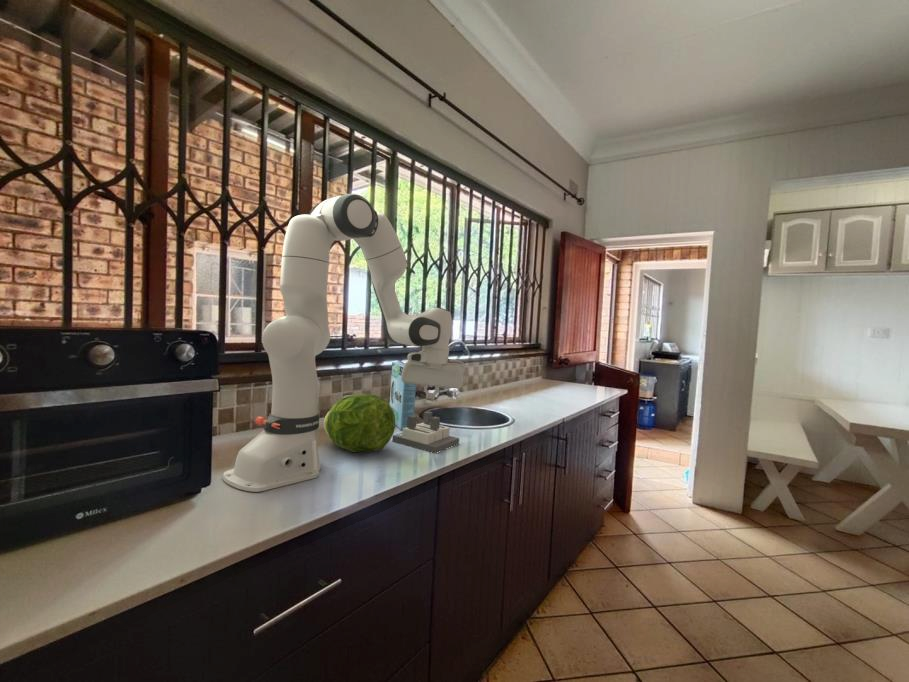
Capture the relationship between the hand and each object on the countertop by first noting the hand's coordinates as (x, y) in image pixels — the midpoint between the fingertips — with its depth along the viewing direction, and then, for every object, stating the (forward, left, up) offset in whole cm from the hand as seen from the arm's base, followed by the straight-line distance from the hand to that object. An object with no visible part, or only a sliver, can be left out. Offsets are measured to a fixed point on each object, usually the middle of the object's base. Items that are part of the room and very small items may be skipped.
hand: (430, 398), depth 133 cm
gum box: (+13, +22, -15) cm, 30 cm away
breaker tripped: (0, -3, -9) cm, 10 cm away
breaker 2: (+5, +4, -9) cm, 11 cm away
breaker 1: (-4, +4, -9) cm, 11 cm away
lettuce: (-21, +12, -15) cm, 28 cm away
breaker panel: (0, +1, -15) cm, 15 cm away
